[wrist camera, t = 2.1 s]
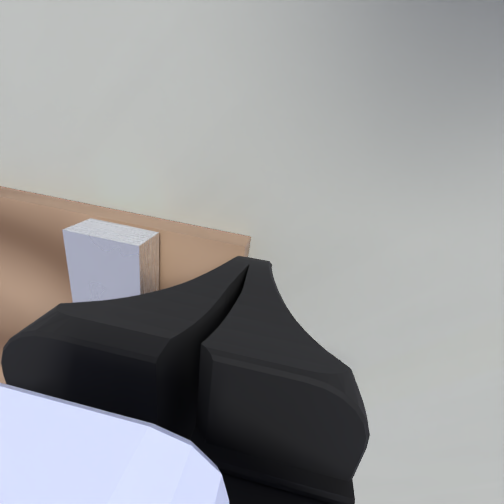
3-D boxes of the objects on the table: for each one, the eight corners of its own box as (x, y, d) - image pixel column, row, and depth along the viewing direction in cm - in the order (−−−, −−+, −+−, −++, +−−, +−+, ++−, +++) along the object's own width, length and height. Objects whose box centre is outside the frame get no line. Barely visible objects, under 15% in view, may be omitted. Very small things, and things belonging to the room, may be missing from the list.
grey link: (167, 480, 18) (156, 508, 17) (105, 461, 19) (89, 487, 18) (175, 235, 11) (157, 250, 10) (75, 215, 12) (45, 225, 10)
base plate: (212, 490, 21) (189, 578, 17) (-27, 418, 23) (-101, 480, 19) (250, 236, 12) (222, 288, 8) (-131, 160, 14) (-303, 171, 10)
